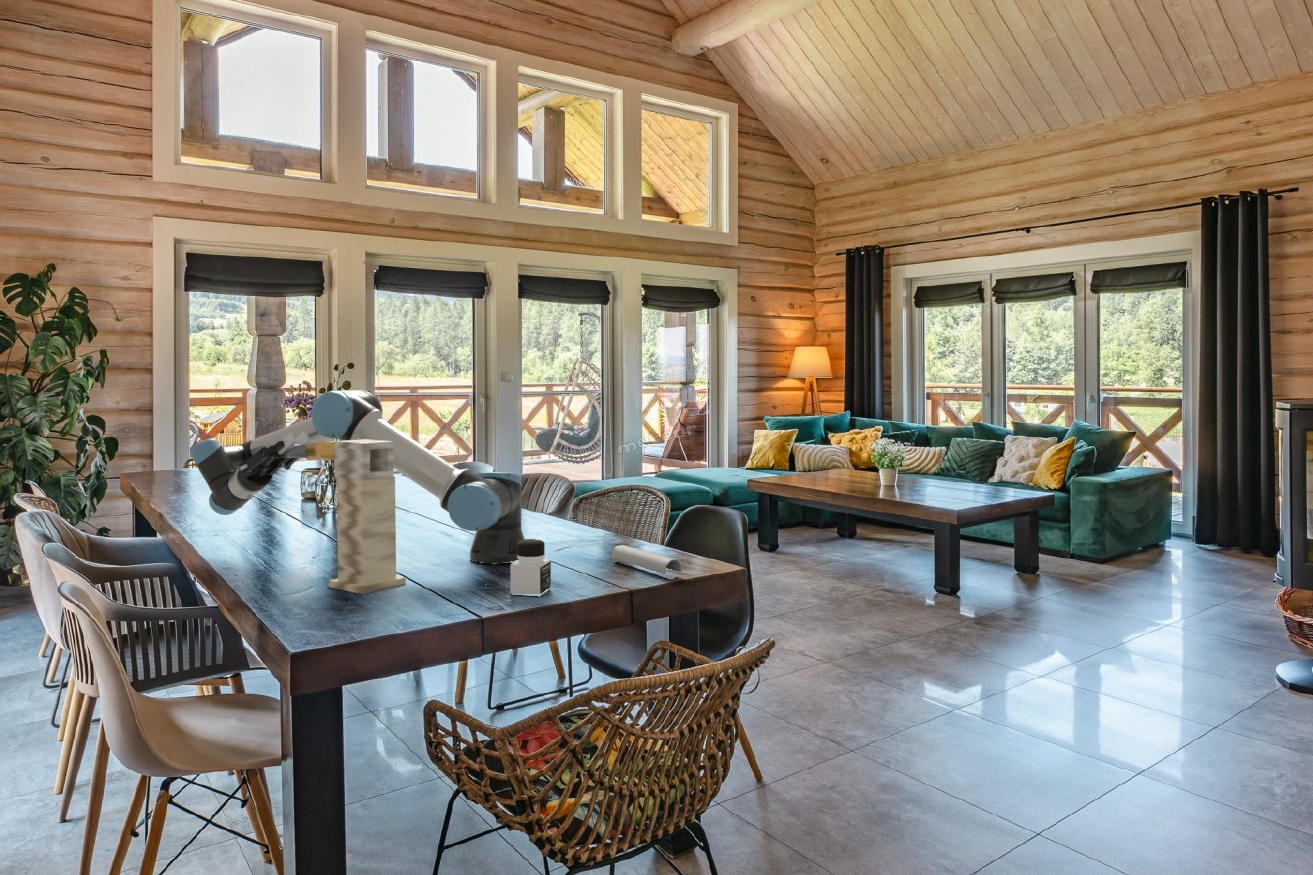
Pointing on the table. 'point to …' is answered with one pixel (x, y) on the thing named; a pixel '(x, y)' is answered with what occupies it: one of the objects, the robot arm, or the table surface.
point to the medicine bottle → (530, 568)
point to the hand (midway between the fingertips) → (299, 436)
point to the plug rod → (311, 451)
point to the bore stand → (365, 516)
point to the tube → (646, 559)
